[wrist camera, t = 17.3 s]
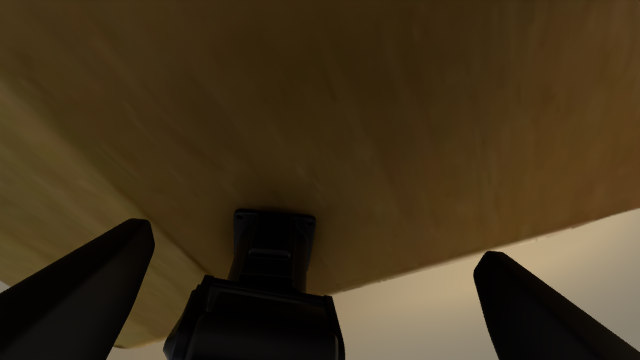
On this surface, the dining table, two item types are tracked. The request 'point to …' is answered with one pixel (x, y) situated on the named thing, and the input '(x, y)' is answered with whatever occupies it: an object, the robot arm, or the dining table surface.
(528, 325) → the robot arm
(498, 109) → the dining table surface
